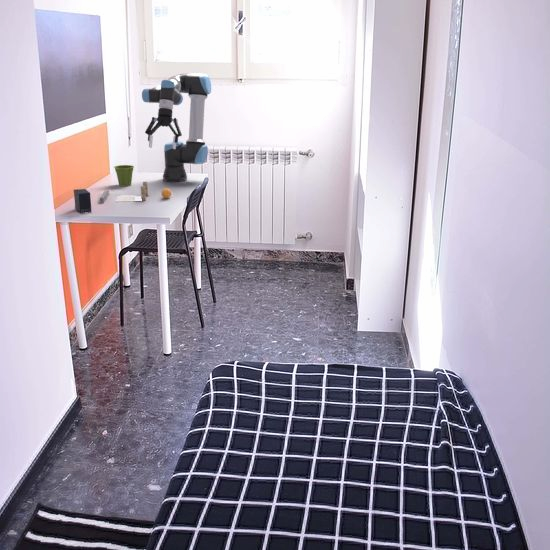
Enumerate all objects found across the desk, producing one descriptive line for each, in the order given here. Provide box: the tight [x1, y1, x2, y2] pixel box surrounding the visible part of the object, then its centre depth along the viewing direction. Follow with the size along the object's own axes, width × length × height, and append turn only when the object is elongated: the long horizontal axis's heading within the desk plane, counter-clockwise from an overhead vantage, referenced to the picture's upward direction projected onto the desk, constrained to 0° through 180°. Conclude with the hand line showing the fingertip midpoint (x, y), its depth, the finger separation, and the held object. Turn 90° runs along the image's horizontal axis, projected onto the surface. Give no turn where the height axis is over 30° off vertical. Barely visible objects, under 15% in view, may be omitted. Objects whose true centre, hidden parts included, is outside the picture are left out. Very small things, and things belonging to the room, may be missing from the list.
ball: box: [161, 188, 172, 199], centre depth 371 cm, size 6×6×6 cm
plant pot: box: [113, 164, 135, 187], centre depth 400 cm, size 12×12×11 cm
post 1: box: [142, 181, 149, 197], centre depth 375 cm, size 2×2×8 cm
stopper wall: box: [99, 189, 110, 204], centre depth 368 cm, size 20×2×3 cm, turn 5°
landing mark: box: [115, 194, 138, 203], centre depth 370 cm, size 14×14×1 cm
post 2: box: [140, 185, 147, 202], centre depth 363 cm, size 2×2×8 cm
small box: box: [73, 188, 92, 214], centre depth 343 cm, size 11×6×10 cm, turn 29°
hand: (162, 148), depth 361 cm, fingers open, 13 cm apart
